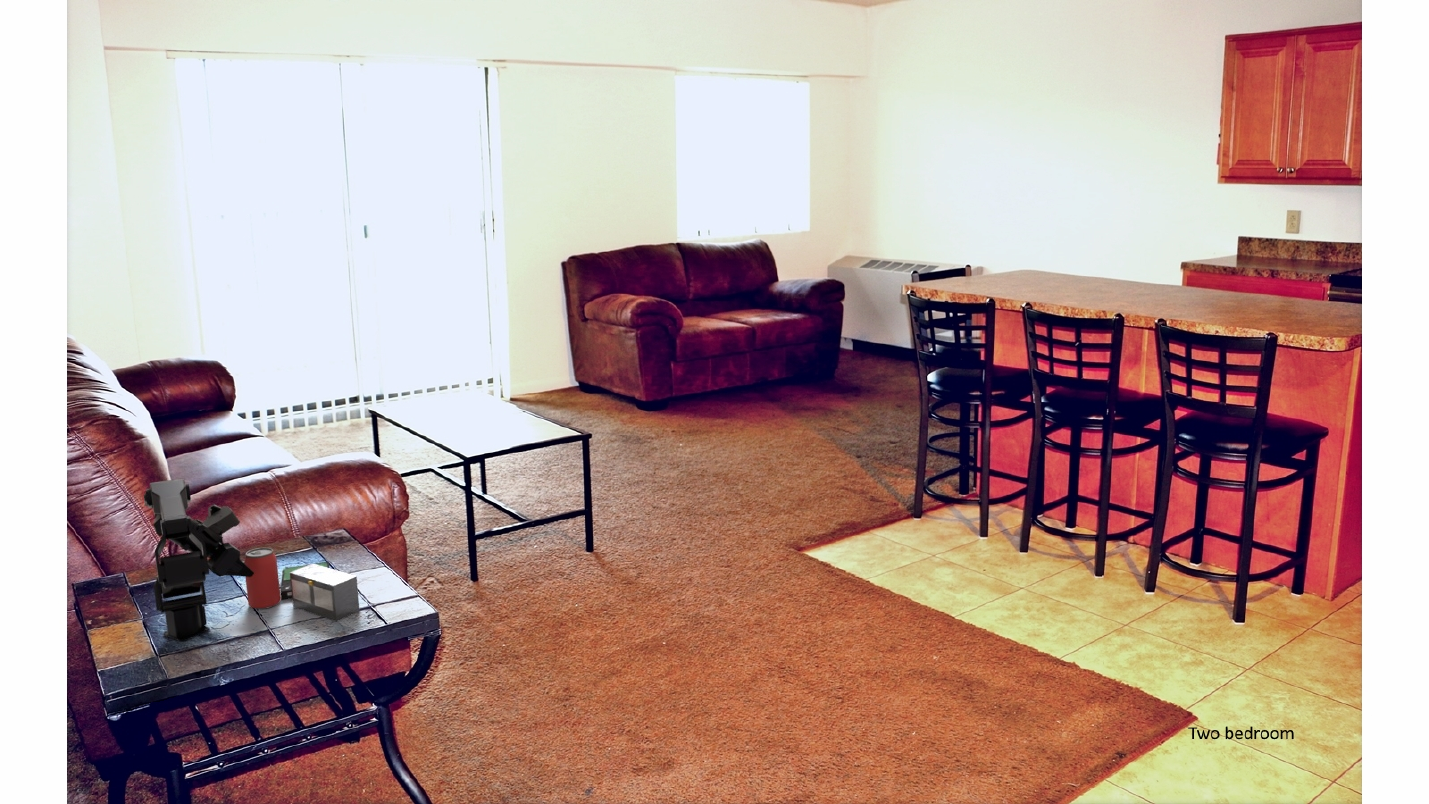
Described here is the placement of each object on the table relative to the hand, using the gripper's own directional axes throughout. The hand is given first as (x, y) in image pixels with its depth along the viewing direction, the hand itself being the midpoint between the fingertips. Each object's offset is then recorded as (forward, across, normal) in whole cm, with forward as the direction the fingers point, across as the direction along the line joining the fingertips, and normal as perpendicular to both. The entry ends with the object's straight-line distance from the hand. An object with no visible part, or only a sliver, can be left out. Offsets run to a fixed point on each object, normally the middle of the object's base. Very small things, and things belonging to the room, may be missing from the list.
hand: (245, 567), depth 227 cm
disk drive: (+17, +5, -3) cm, 18 cm away
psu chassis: (+15, -11, -2) cm, 19 cm away
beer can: (+9, 0, +4) cm, 10 cm away
